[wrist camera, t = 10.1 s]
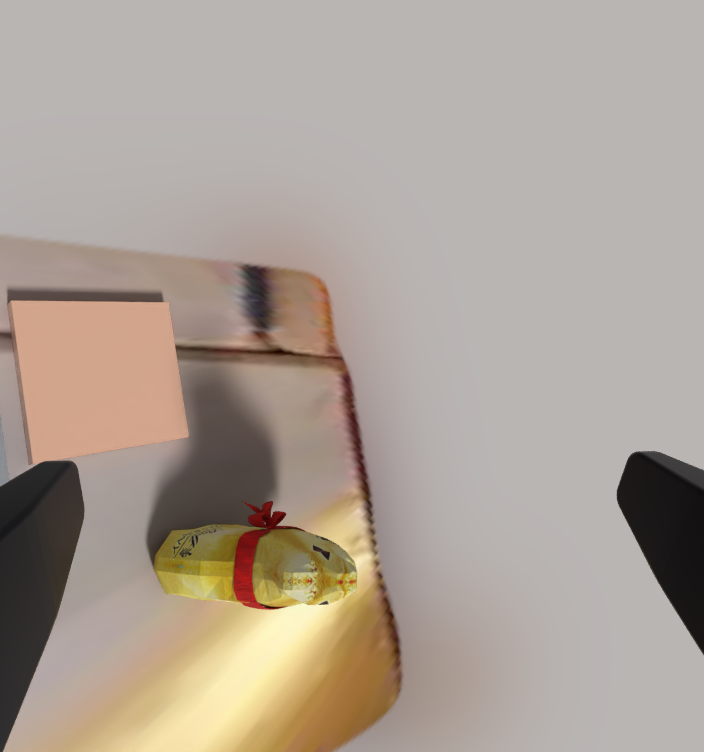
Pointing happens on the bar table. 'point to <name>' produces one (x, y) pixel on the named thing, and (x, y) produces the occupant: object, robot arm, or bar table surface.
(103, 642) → the bar table surface
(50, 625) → the robot arm
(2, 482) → the collar
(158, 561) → the chocolate bunny
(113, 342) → the terracotta tile
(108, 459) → the bar table surface
